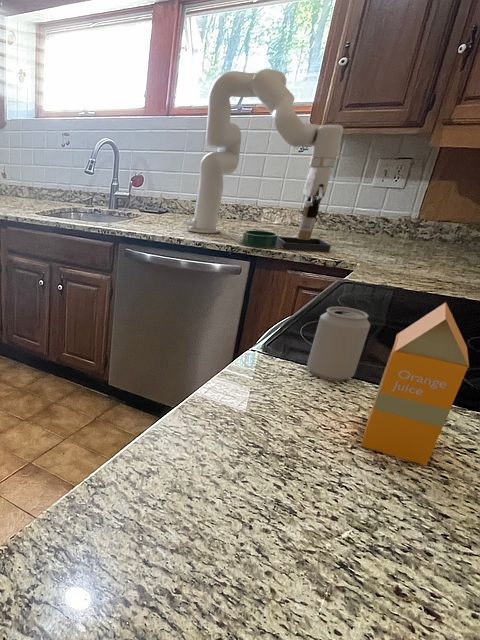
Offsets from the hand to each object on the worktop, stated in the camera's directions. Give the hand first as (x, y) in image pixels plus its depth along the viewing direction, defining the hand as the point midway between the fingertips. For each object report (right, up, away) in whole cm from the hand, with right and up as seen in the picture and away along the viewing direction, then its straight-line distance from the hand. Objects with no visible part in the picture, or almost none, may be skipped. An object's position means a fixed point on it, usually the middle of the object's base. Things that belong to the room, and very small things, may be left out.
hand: (309, 215), depth 191 cm
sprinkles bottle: (0, -8, +4) cm, 9 cm away
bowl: (-15, -9, +8) cm, 19 cm away
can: (-53, -55, -95) cm, 122 cm away
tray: (0, -11, +5) cm, 12 cm away
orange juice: (-56, -64, -116) cm, 144 cm away
